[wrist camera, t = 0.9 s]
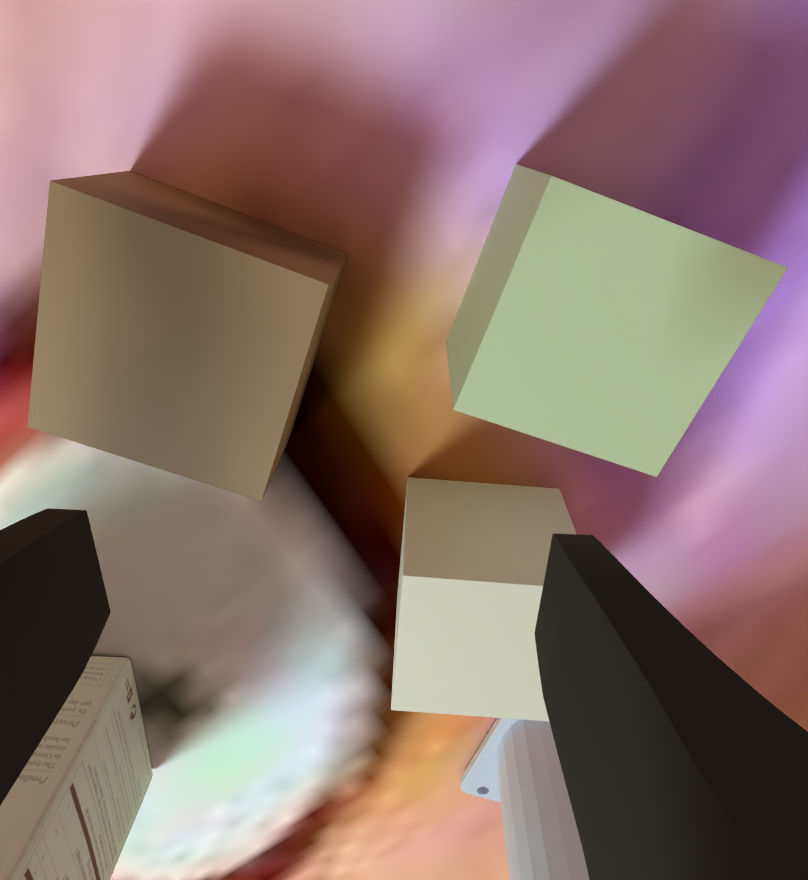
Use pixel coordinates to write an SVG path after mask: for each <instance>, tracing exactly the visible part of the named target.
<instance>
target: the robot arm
mask: <svg viewBox="0 0 808 880" xmlns="http://www.w3.org/2000/svg"><path fill="white" fill-rule="evenodd" d="M109 614H110V608H109V604H108V599H107V595H106V591H105V587H104V582H103V578H102V574H101V570H100V566H99V561H98V557H97V553H96V549H95V544H94V540H93V536H92V532H91V528H90V523H89V519H88V515H87V511H86V510H66V509H45V510H43V511H41V512H38V513H36V514H33V515H31V516H29V517H27V518H25V519H23V520H20V521H18V522H16V523H14V524H12V525H10V526H8V527H6V528H4V529H2V530H0V806H1V804H2V802H3V801H4V799H5V798H6V796H7V794H8V793H9V791H10V790H11V788H12V786H13V785H14V783H15V782H16V780H17V778H18V777H19V775H20V774H21V772H22V770H23V769H24V767H25V766H26V764H27V762H28V761H29V759H30V758H31V756H32V755H33V753H34V751H35V750H36V748H37V747H38V745H39V743H40V742H41V740H42V739H43V737H44V735H45V734H46V732H47V731H48V729H49V727H50V726H51V724H52V723H53V721H54V719H55V718H56V716H57V715H58V713H59V711H60V710H61V708H62V706H63V705H64V703H65V702H66V700H67V698H68V697H69V695H70V693H71V692H72V690H73V689H74V687H75V685H76V684H77V682H78V680H79V678H80V677H81V675H82V673H83V672H84V670H85V668H86V665H87V663H88V661H89V659H90V657H91V655H92V653H93V651H94V649H95V647H96V644H97V642H98V640H99V637H100V635H101V633H102V631H103V628H104V626H105V624H106V621H107V619H108V617H109ZM534 634H535V642H536V650H537V658H538V666H539V673H540V679H541V686H542V693H543V698H544V702H545V706H546V710H547V714H548V718H549V721H536V720H522V719H508V718H497V719H496V721H495V723H494V724H493V726H492V728H491V729H490V731H489V732H488V734H487V736H486V737H485V739H484V741H483V742H482V744H481V745H480V747H479V749H478V750H477V752H476V754H475V755H474V757H473V758H472V760H471V762H470V763H469V765H468V767H467V768H466V770H465V771H464V773H463V775H462V776H461V778H460V787H461V790H462V791H463V792H464V793H467V794H470V795H474V796H478V797H482V798H486V799H490V800H494V801H498V802H500V804H501V813H502V821H503V830H504V839H505V847H506V856H507V865H508V873H509V880H808V732H807V731H806V730H805V729H803V728H802V727H801V726H799V725H798V724H797V723H796V722H794V721H793V720H792V719H790V718H789V717H788V716H786V715H785V714H784V713H783V712H781V711H780V710H779V709H778V708H776V707H775V706H774V705H773V704H772V703H770V702H769V701H768V700H767V699H765V698H764V697H763V696H762V695H761V694H759V693H758V692H757V691H756V690H755V689H753V688H752V687H751V686H750V685H749V684H748V683H747V682H745V681H744V680H743V679H742V678H741V677H740V676H739V675H737V674H736V673H735V672H734V671H733V670H732V669H730V668H729V667H728V666H727V665H726V664H725V663H724V662H722V661H721V660H720V659H719V658H718V657H717V656H716V655H714V654H713V653H712V652H711V651H710V650H709V649H708V648H707V647H706V646H705V645H704V644H702V643H701V642H700V641H699V640H698V639H697V638H696V637H695V636H694V635H693V634H692V633H691V632H689V631H688V630H687V629H686V628H685V627H684V626H683V625H682V624H681V623H680V622H679V621H678V620H677V619H676V618H675V617H674V616H673V615H672V614H671V613H670V612H669V611H668V610H667V609H666V608H664V607H663V606H662V605H661V604H660V603H659V602H658V601H657V600H656V599H655V598H654V597H653V596H652V595H651V594H650V593H649V592H648V591H647V590H646V589H645V588H644V587H643V586H642V585H641V584H640V583H639V581H638V580H637V579H636V578H635V577H634V576H633V575H632V574H631V573H630V572H629V571H628V570H627V569H626V568H625V567H624V566H623V565H622V564H621V563H620V562H619V561H618V560H617V559H616V558H615V557H614V556H613V555H612V554H611V553H610V552H609V551H608V550H607V549H606V548H605V547H604V546H603V545H602V544H601V543H600V542H599V541H598V540H597V539H596V538H595V537H594V536H593V535H577V534H556V533H553V535H552V540H551V546H550V551H549V557H548V562H547V567H546V573H545V578H544V584H543V589H542V595H541V600H540V606H539V611H538V616H537V622H536V627H535V633H534Z"/></svg>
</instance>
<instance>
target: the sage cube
mask: <svg viewBox="0 0 808 880" xmlns="http://www.w3.org/2000/svg"><path fill="white" fill-rule="evenodd" d="M786 269H787V267H785V266H782V265H780V264H777V263H775V262H772V261H769V260H767V259H764V258H762V257H759V256H757V255H754V254H751V253H749V252H746V251H744V250H741V249H739V248H736V247H733V246H731V245H728V244H726V243H723V242H721V241H718V240H716V239H713V238H710V237H708V236H705V235H703V234H700V233H698V232H695V231H692V230H690V229H687V228H685V227H682V226H680V225H677V224H674V223H672V222H669V221H667V220H664V219H662V218H659V217H656V216H654V215H651V214H649V213H646V212H644V211H641V210H639V209H636V208H633V207H631V206H628V205H626V204H623V203H621V202H618V201H615V200H613V199H610V198H608V197H605V196H603V195H600V194H597V193H595V192H592V191H590V190H587V189H585V188H582V187H579V186H577V185H574V184H572V183H569V182H567V181H564V180H561V179H559V178H556V177H554V176H551V175H548V174H545V173H542V172H539V171H536V170H533V169H530V168H527V167H524V166H521V165H518V164H516V165H515V167H514V170H513V172H512V175H511V177H510V180H509V183H508V185H507V188H506V190H505V193H504V195H503V198H502V200H501V203H500V206H499V208H498V211H497V213H496V216H495V218H494V221H493V223H492V226H491V229H490V231H489V234H488V236H487V239H486V241H485V244H484V246H483V249H482V252H481V254H480V257H479V259H478V262H477V264H476V267H475V269H474V272H473V275H472V277H471V280H470V282H469V285H468V287H467V290H466V292H465V295H464V298H463V300H462V303H461V305H460V308H459V310H458V313H457V315H456V318H455V321H454V323H453V326H452V328H451V331H450V333H449V336H448V338H447V341H446V343H447V353H448V363H449V372H450V382H451V392H452V401H453V410H456V411H459V412H462V413H465V414H468V415H471V416H474V417H477V418H480V419H483V420H486V421H489V422H492V423H495V424H498V425H501V426H504V427H507V428H510V429H513V430H516V431H519V432H522V433H525V434H528V435H531V436H534V437H537V438H540V439H543V440H546V441H549V442H552V443H555V444H558V445H561V446H564V447H567V448H570V449H573V450H576V451H579V452H582V453H586V454H589V455H592V456H595V457H598V458H601V459H604V460H607V461H610V462H613V463H616V464H619V465H622V466H625V467H628V468H631V469H634V470H637V471H640V472H643V473H646V474H649V475H652V476H655V477H657V476H658V474H659V473H660V471H661V469H662V468H663V466H664V465H665V463H666V461H667V460H668V458H669V457H670V455H671V453H672V452H673V450H674V449H675V447H676V445H677V444H678V442H679V441H680V439H681V437H682V436H683V434H684V433H685V431H686V429H687V428H688V426H689V425H690V423H691V421H692V420H693V418H694V417H695V415H696V413H697V412H698V410H699V409H700V407H701V405H702V404H703V402H704V401H705V399H706V397H707V396H708V394H709V393H710V391H711V389H712V388H713V386H714V385H715V383H716V381H717V380H718V378H719V377H720V375H721V373H722V372H723V370H724V369H725V367H726V365H727V364H728V362H729V361H730V359H731V357H732V356H733V354H734V353H735V351H736V349H737V348H738V346H739V345H740V343H741V341H742V340H743V338H744V337H745V335H746V333H747V332H748V330H749V329H750V327H751V325H752V324H753V322H754V321H755V319H756V317H757V316H758V314H759V313H760V311H761V309H762V308H763V306H764V305H765V303H766V301H767V300H768V298H769V297H770V295H771V293H772V292H773V290H774V289H775V287H776V285H777V284H778V282H779V281H780V279H781V277H782V276H783V274H784V273H785V271H786Z"/></svg>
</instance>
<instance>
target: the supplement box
mask: <svg viewBox="0 0 808 880" xmlns="http://www.w3.org/2000/svg"><path fill="white" fill-rule="evenodd" d="M151 779H152V769H151V761H150V754H149V749H148V745H147V739H146V734H145V729H144V723H143V719H142V713H141V708H140V703H139V698H138V693H137V688H136V683H135V679H134V674H133V669H132V665H131V661H130V659H129V658H125V657H102V656H91V657H90V659H89V661H88V663H87V665H86V668H85V670H84V672H83V673H82V675H81V677H80V678H79V680H78V682H77V684H76V685H75V687H74V689H73V690H72V692H71V693H70V695H69V697H68V698H67V700H66V702H65V703H64V705H63V706H62V708H61V710H60V711H59V713H58V715H57V716H56V718H55V719H54V721H53V723H52V724H51V726H50V727H49V729H48V731H47V732H46V734H45V735H44V737H43V739H42V740H41V742H40V743H39V745H38V747H37V748H36V750H35V751H34V753H33V755H32V756H31V758H30V759H29V761H28V762H27V764H26V766H25V767H24V769H23V770H22V772H21V774H20V775H19V777H18V778H17V780H16V782H15V783H14V785H13V786H12V788H11V790H10V791H9V793H8V794H7V796H6V798H5V799H4V801H3V802H2V804H1V806H0V880H110V878H111V875H112V873H113V871H114V868H115V865H116V863H117V861H118V858H119V856H120V854H121V851H122V849H123V846H124V844H125V841H126V839H127V837H128V834H129V832H130V830H131V827H132V825H133V823H134V820H135V818H136V815H137V813H138V811H139V808H140V806H141V804H142V801H143V799H144V796H145V794H146V791H147V789H148V786H149V784H150V781H151Z"/></svg>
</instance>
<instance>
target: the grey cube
mask: <svg viewBox="0 0 808 880" xmlns="http://www.w3.org/2000/svg"><path fill="white" fill-rule="evenodd" d="M553 533H556V534H577V533H576V531H575V528H574V526H573V523H572V520H571V518H570V515H569V512H568V510H567V507H566V505H565V502H564V499H563V497H562V494H561V491H560V489H557V488H544V487H530V486H517V485H504V484H491V483H477V482H464V481H451V480H437V479H424V478H411V477H407V489H406V500H405V512H404V524H403V536H402V547H401V559H400V571H399V583H398V594H397V612H396V630H395V648H394V665H393V683H392V701H391V710H399V711H413V712H426V713H440V714H454V715H467V716H481V717H495V718H508V719H522V720H536V721H549V718H548V714H547V710H546V706H545V702H544V698H543V693H542V686H541V679H540V673H539V666H538V658H537V650H536V642H535V634H534V633H535V627H536V622H537V616H538V611H539V606H540V600H541V595H542V589H543V584H544V578H545V573H546V567H547V562H548V557H549V551H550V546H551V540H552V535H553Z"/></svg>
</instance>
